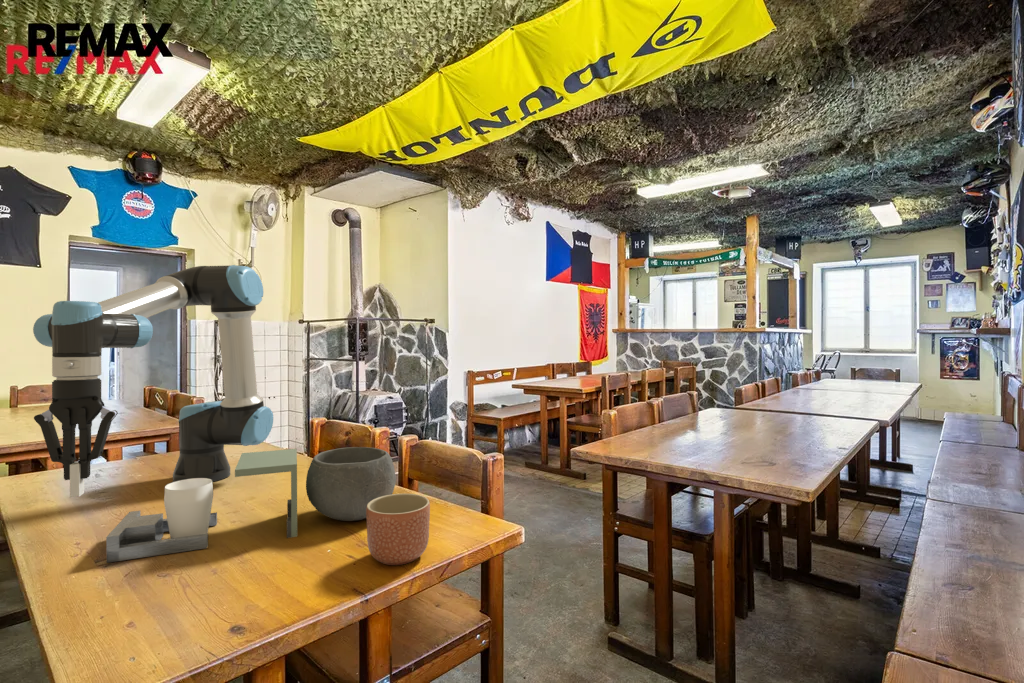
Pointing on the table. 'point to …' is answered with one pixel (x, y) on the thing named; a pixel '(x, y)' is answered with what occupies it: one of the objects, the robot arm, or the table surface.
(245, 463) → the shelf
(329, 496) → the bowl
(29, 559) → the table surface
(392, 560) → the planter
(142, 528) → the frame
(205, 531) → the cup
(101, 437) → the robot arm
